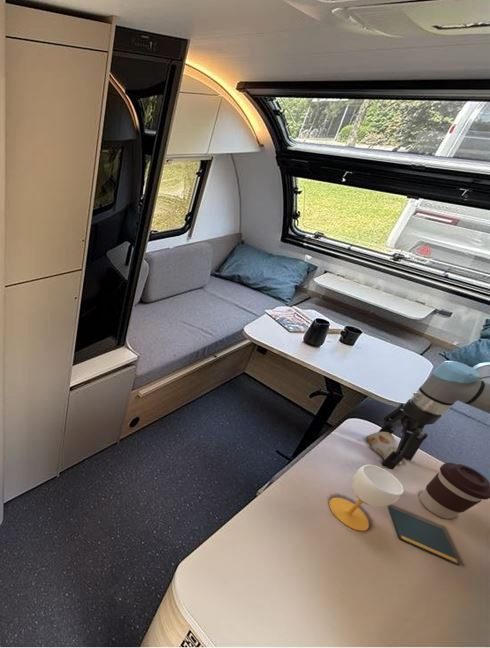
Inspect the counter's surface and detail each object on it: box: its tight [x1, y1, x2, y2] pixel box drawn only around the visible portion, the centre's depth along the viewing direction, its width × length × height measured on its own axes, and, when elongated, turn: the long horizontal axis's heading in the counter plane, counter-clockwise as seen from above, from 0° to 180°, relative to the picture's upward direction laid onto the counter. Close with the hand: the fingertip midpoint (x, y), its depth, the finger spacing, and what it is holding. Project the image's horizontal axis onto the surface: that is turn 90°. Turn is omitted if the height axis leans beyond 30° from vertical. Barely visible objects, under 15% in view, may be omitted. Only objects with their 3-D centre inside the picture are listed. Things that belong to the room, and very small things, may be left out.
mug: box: [365, 431, 403, 466], centre depth 116 cm, size 8×10×10 cm
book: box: [387, 505, 461, 566], centre depth 95 cm, size 12×10×1 cm
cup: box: [328, 464, 405, 532], centre depth 94 cm, size 9×9×16 cm
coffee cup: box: [419, 462, 490, 520], centre depth 99 cm, size 10×10×15 cm
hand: (381, 453), depth 117 cm, fingers open, 10 cm apart
